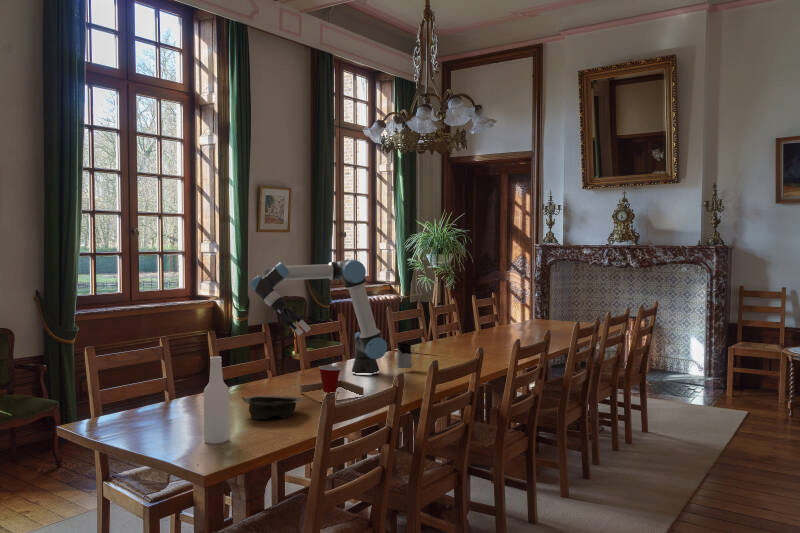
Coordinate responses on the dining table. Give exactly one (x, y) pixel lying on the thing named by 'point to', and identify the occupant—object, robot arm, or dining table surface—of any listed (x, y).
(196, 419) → the dining table surface
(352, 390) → the tray
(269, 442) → the dining table surface
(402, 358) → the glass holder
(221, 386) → the alcohol
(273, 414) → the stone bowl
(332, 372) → the plastic cup
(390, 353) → the dining table surface
